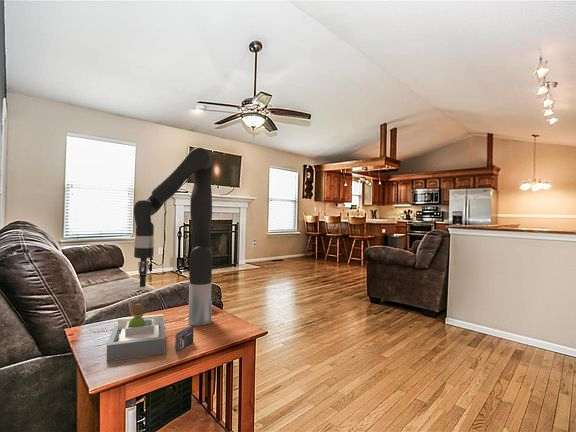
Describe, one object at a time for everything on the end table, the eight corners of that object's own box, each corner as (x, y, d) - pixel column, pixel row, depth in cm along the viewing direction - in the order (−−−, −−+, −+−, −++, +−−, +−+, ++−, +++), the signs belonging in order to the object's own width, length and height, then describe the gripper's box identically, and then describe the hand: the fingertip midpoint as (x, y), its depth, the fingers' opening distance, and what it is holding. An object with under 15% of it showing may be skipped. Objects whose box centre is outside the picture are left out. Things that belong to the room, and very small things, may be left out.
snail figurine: (131, 327, 121) (132, 297, 121) (147, 328, 121) (148, 298, 121) (123, 332, 116) (124, 301, 116) (140, 333, 116) (141, 301, 116)
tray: (162, 323, 130) (163, 314, 130) (163, 339, 114) (163, 328, 114) (118, 328, 123) (118, 318, 123) (112, 345, 107) (112, 334, 107)
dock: (163, 333, 120) (164, 321, 120) (164, 353, 103) (165, 338, 103) (114, 339, 113) (114, 326, 113) (106, 361, 97) (106, 345, 97)
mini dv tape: (179, 352, 104) (179, 334, 104) (175, 351, 105) (175, 334, 105) (193, 343, 112) (193, 326, 112) (189, 342, 113) (190, 326, 113)
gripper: (153, 247, 128) (151, 289, 127) (153, 244, 140) (152, 283, 140) (133, 248, 125) (131, 290, 125) (135, 244, 137) (133, 283, 137)
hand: (142, 286), depth 132 cm, fingers closed
